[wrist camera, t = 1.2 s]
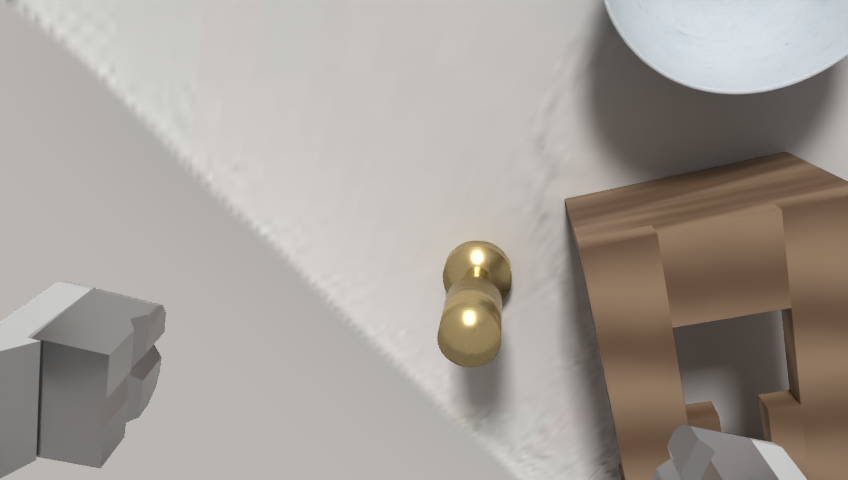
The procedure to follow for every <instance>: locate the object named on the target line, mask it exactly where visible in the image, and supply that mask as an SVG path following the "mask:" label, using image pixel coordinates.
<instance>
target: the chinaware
mask: <svg viewBox="0 0 848 480" xmlns="http://www.w3.org/2000/svg"><path fill="white" fill-rule="evenodd" d="M603 2H604V5H605V8H606V11H607V13H608V15H609V17H610V19H611V21H612V23H613V25H614V27H615V29H616V30H617V32H618V34H619V35H620V37H621V38H622V39H623V41H624V42H625V43H626V45H627V46H628V47H629V48H630V49H631V50H632V52H633V53H634V54H635V55H636V56H637V57H638V58H639V59H640V60H642V61H643V62H644V63H645V64H646V65H648V66H649V67H650V68H652V69H653V70H654V71H656V72H657V73H659V74H661V75H662V76H664V77H666V78H668V79H670V80H672V81H674V82H676V83H678V84H681V85H683V86H686V87H689V88H692V89H696V90H700V91H704V92H709V93H716V94H727V95H743V94H755V93H762V92H768V91H772V90H777V89H781V88H784V87H787V86H790V85H793V84H796V83H799V82H801V81H804V80H806V79H808V78H811V77H813V76H815V75H817V74H819V73H821V72H823V71H824V70H826V69H828V68H830V67H831V66H833V65H835V64H836V63H838V62H839V61H841V60H842V59H844V58H845V57H846V56H848V0H603Z"/></svg>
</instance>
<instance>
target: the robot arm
mask: <svg viewBox="0 0 848 480" xmlns="http://www.w3.org/2000/svg"><path fill="white" fill-rule="evenodd" d="M165 316H166V312H165V309H164V307H163V305H161V304H156V303H152V302H148V301H144V300H140V299H136V298H132V297H128V296H124V295H120V294H116V293H112V292H108V291H104V290H100V289H96V288H94V287H89V286H84V285H80V284H75V283H70V282H62V281H58V282H56V283H54V284H53V285H52V286H50V287H49V288H47V289H46V290H44V291H43V292H41V293H40V294H39V295H37V296H36V297H35V298H33V299H32V300H30V301H29V302H27V303H26V304H24V305H23V306H22V307H20V308H19V309H17V310H16V311H14V312H13V313H12V314H10V315H9V316H7V317H6V318H5V319H3V320H2V321H1V322H0V478H2V477H4V476H6V475H8V474H10V473H12V472H14V471H15V470H17V469H19V468H21V467H23V466H25V465H27V464H29V463H31V462H33V461H35V460H36V457H41V458H47V459H53V460H58V461H64V462H69V463H74V464H80V465H86V466H91V467H96V468H101V467H102V466H103V464H104V463H105V462H106V460H107V459H108V458H109V456H110V455H111V454H112V452H113V451H114V450H115V449H116V447H117V446H118V445H119V443H120V442H121V441H122V439H123V438H124V434H125V425H126V422H129V421H131V420H133V419H136V418H138V417H139V416H140V415H141V413H142V412H143V411H144V409H145V408H146V406H147V405H148V403H149V400H150V398H151V396H152V394H153V392H154V390H155V387H156V384H157V380H158V376H159V372H160V365H161V356H160V354H159V352H158V350H157V349H156V347H155V345H154V343H155V342H156V341H157V340H158V339H159V338H160V336H161V335H162V334H163V333H164V330H165ZM667 447H668V450H669V454H670V457H671V459H670V460H668V461H666V462H665V463H663V464H662V465H660V466H659V467H657V468H656V470H655V473H654V475H653V478H652V480H807V479H806V477H805V476H804V475H803V474H802V472H801V471H800V470H799V468H798V467H797V466H796V465H795V463H794V462H793V461H792V459H791V458H790V457H789V456H788V454H787V453H786V452H785V450H784V449H783V448H782V447H780V446H779V445H777V444H775V443H773V442H769V441H763V440H758V439H752V438H747V437H742V436H737V435H732V434H727V433H722V432H717V431H712V430H707V429H702V428H697V427H692V426H687V425H680V426H679V427H678V428H677V429H676V430H675V431H674V432H673V434H672V436H671V438H670V440H669V442H668V444H667Z"/></svg>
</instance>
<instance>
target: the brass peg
mask: <svg viewBox="0 0 848 480" xmlns="http://www.w3.org/2000/svg"><path fill="white" fill-rule="evenodd" d="M443 282H444V286H445V289H446V291H447V296H446V301H445V305H444V309H443V314H442V318H441V322H440V326H439V331H438V337H437V338H438V345H439V348H440V350H441V352H442V353H443V354H444V356H445V357H446V358H447V359H449V360H450V361H451V362H453V363H455V364H457V365H460V366H464V367H477V366H481V365H484V364H486V363H488V362H489V361H491V360H492V359H493V358H494V357H495V356H496V354H497V353H498V351H499V348H500V344H501V319H502V300H503V299H504V298H505V296H506V295H507V293H508V292H509V289H510V286H511V265H510V262H509V260H508V258H507V256H506V255H505V253H504V252H503V251H502V250H501V249H500V248H498V247H497V246H495V245H493V244H491V243H488V242H484V241H470V242H466V243H464V244H461V245H460V246H458V247H457V248H455V249H454V250H453V251H452V252H451V254H450V255H449V257H448V258H447V261H446V264H445V268H444V272H443Z"/></svg>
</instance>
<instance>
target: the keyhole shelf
mask: <svg viewBox="0 0 848 480" xmlns="http://www.w3.org/2000/svg"><path fill="white" fill-rule="evenodd" d="M565 203H566V208H567V213H568V218H569V222H570V227H571V231H572V234H573V238H574V241H575V245H576V248H577V252H578V255H579V259H580V262H581V266H582V269H583V273H584V278H585V283H586V288H587V293H588V297H589V302H590V307H591V312H592V317H593V322H594V327H595V332H596V337H597V342H598V347H599V352H600V357H601V362H602V367H603V372H604V377H605V382H606V387H607V392H608V397H609V402H610V407H611V412H612V417H613V422H614V427H615V432H616V437H617V442H618V447H619V452H620V457H621V462H622V465H619V470H620V475H621V479H622V480H652V478H653V475H654V473H655V470H656V468H657V467H659V466H660V465H662V464H663V463H665V462H666V461H668V460H670V459H671V457H670V454H669V450H668V447H667V444H668V442H669V440H670V438H671V436H672V434H673V432H674V431H675V430H676V429H677V428H678V427H679V426H680V425H687V426H692V427H697V428H702V429H707V430H712V431H717V432H721V428H720V421H719V416H718V414H717V412H716V410H715V408H714V406H713V404H712V402H711V401H710V402H703V403H696V404H689V405H685V402H684V396H683V390H682V383H681V377H680V371H679V365H678V358H677V352H676V346H675V340H674V333H673V328H674V327H680V326H686V325H692V324H698V323H704V322H710V321H716V320H722V319H728V318H734V317H740V316H746V315H752V314H758V313H764V312H770V311H776V310H781V311H782V320H783V330H784V340H785V349H786V359H787V369H788V378H789V388H790V390H787V391H780V392H773V393H766V394H759V395H758V398H759V406H760V414H761V423H762V431H763V439H764V441H769V442H773V443H775V444H777V445H779V446H780V447H782V448H783V449H784V450H785V452H786V453H787V454H788V456H789V457H790V458H791V459H792V461H793V462H794V463H795V465H796V466H797V467H798V468H799V470H800V471H801V472H802V474H803V475H804V476H805V477H806V479H807V480H848V181H846V180H844V179H842V178H839V177H837V176H835V175H833V174H831V173H829V172H827V171H825V170H823V169H821V168H819V167H817V166H815V165H812V164H810V163H808V162H806V161H804V160H802V159H800V158H798V157H796V156H794V155H792V154H790V153H788V152H783V153H778V154H774V155H769V156H764V157H760V158H755V159H750V160H746V161H741V162H736V163H732V164H727V165H722V166H718V167H713V168H708V169H704V170H699V171H694V172H689V173H685V174H680V175H675V176H671V177H666V178H661V179H657V180H652V181H647V182H643V183H638V184H633V185H629V186H624V187H619V188H615V189H610V190H605V191H601V192H596V193H591V194H586V195H582V196H577V197H572V198H568V199H565Z"/></svg>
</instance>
